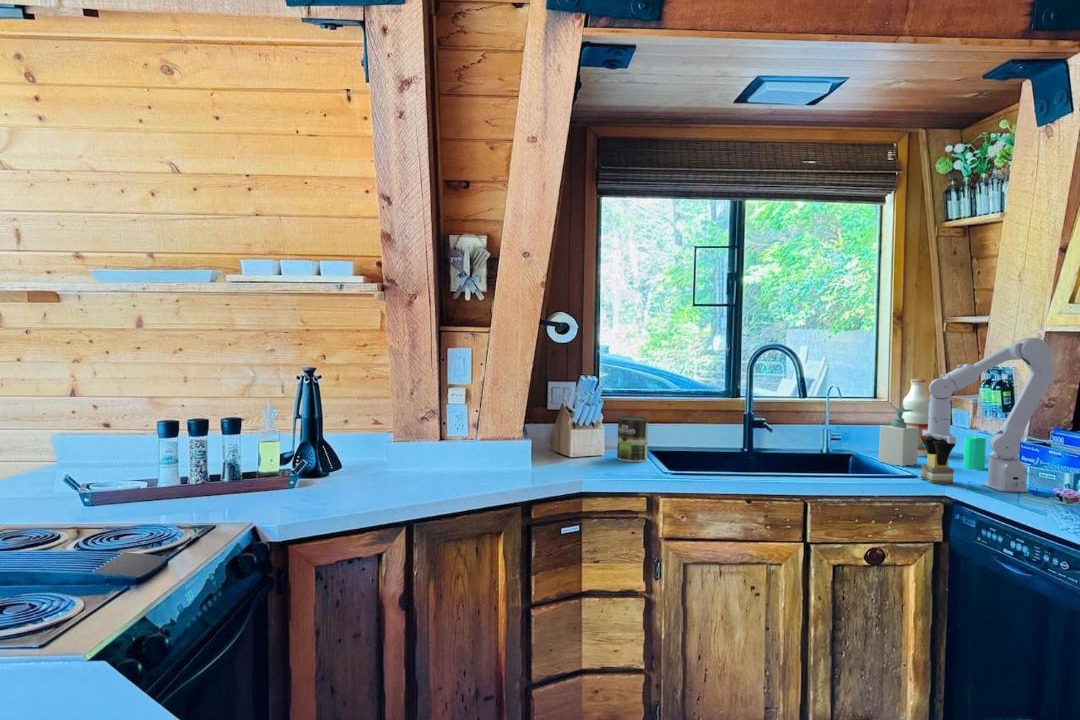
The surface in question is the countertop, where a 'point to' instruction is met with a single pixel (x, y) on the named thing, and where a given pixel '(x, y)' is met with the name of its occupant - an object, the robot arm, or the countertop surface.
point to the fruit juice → (917, 411)
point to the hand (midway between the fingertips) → (937, 463)
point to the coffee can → (632, 439)
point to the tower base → (937, 474)
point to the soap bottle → (898, 442)
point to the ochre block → (934, 461)
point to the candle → (974, 452)
